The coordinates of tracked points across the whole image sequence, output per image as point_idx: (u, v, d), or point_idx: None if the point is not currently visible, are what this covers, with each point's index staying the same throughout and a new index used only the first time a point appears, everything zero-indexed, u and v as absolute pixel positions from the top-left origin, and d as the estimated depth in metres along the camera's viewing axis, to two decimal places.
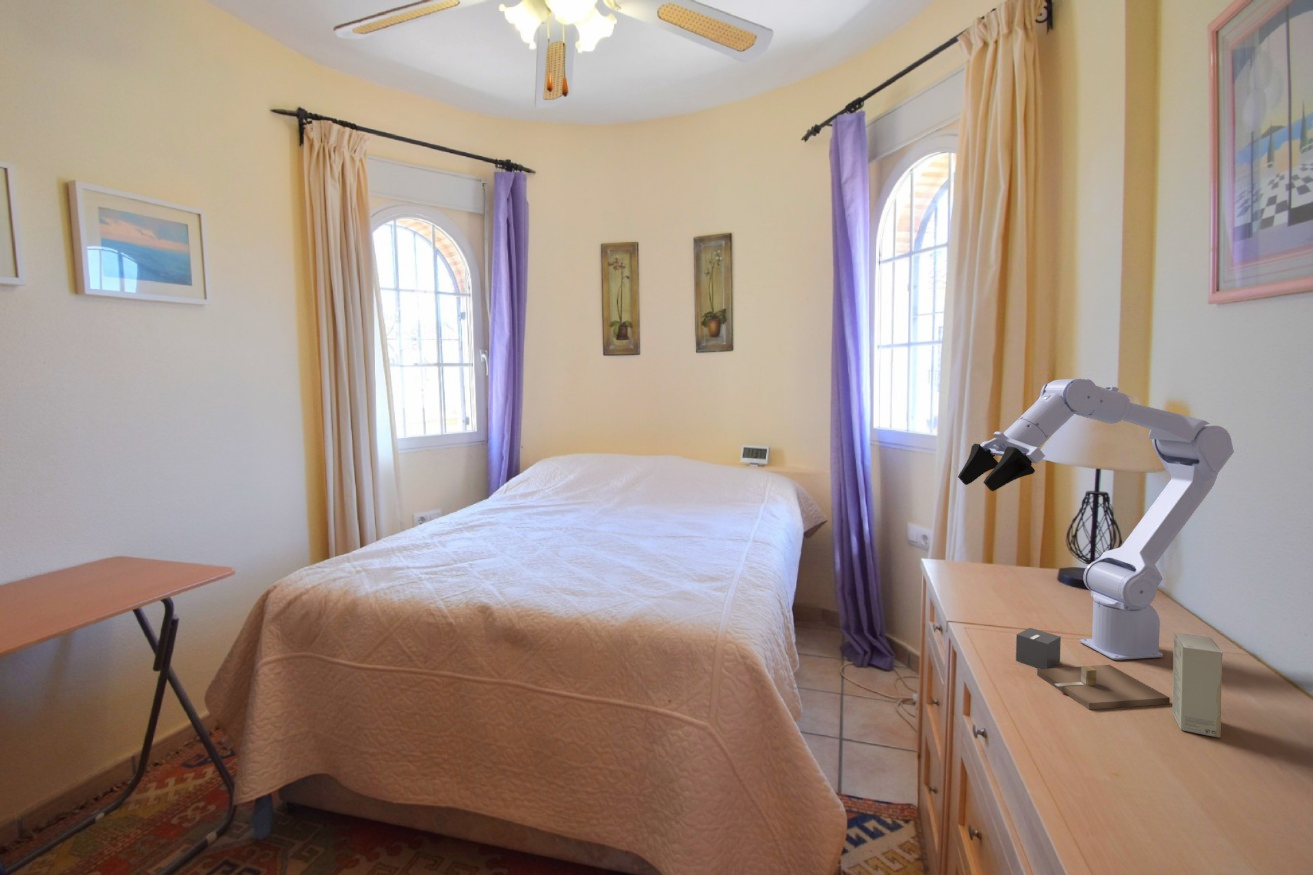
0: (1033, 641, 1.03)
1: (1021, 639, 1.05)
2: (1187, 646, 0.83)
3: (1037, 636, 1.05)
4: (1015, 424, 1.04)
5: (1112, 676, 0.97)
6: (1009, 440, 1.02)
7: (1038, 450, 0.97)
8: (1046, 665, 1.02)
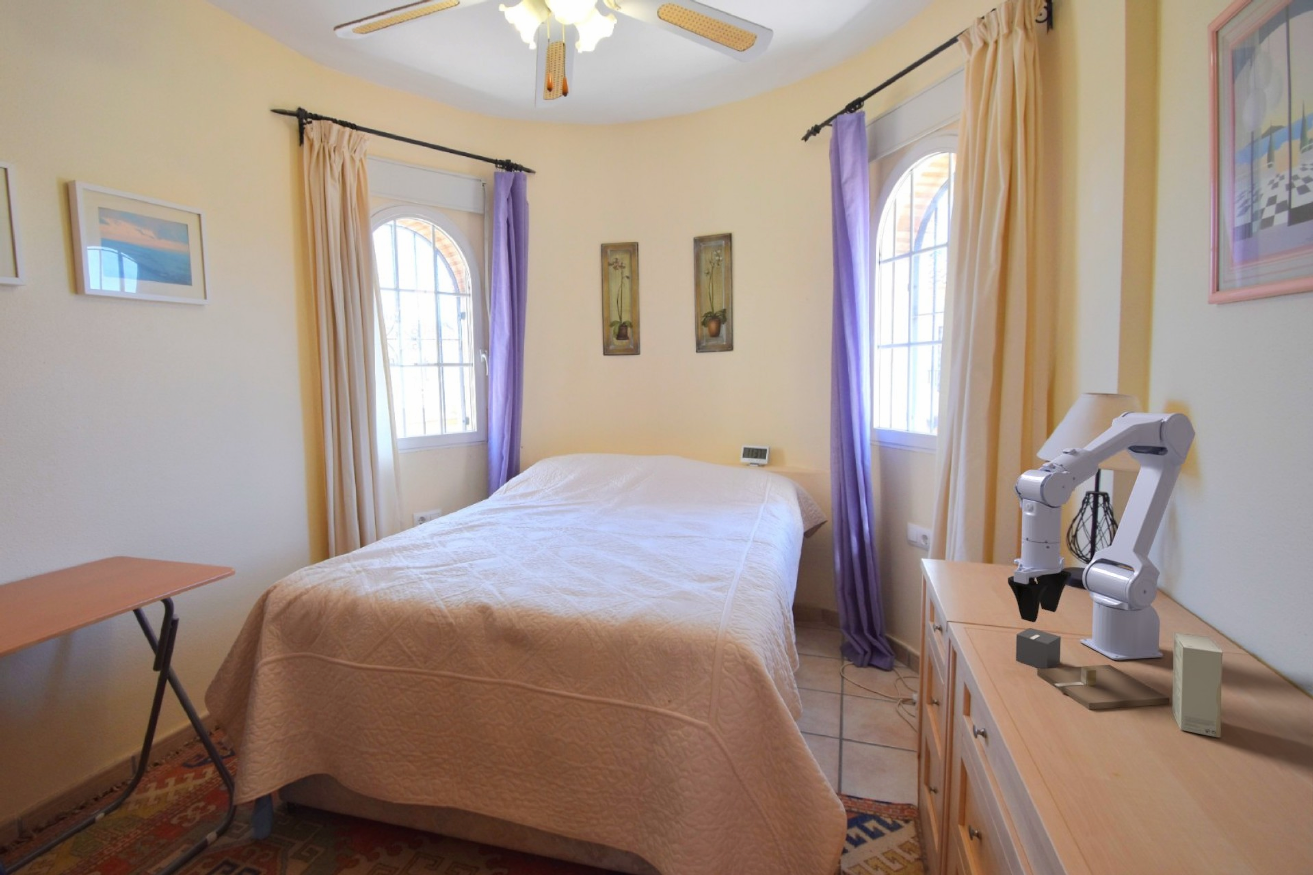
0: (1033, 641, 1.03)
1: (1021, 639, 1.05)
2: (1187, 646, 0.83)
3: (1037, 636, 1.05)
4: None
5: (1112, 676, 0.97)
6: None
7: (1016, 572, 1.00)
8: (1046, 665, 1.02)
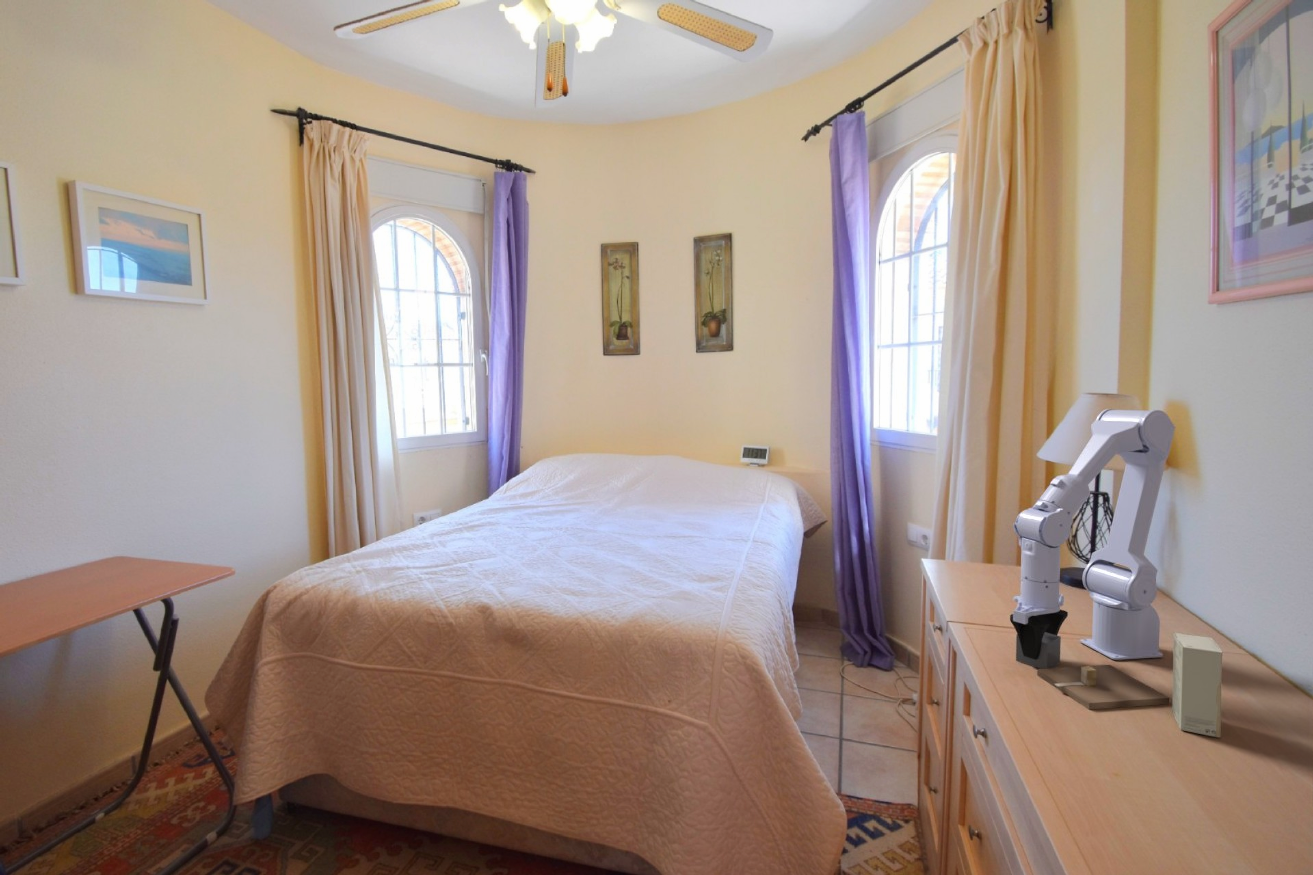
0: None
1: None
2: (1187, 646, 0.83)
3: None
4: None
5: (1112, 676, 0.97)
6: None
7: (1015, 612, 1.01)
8: (1046, 665, 1.02)
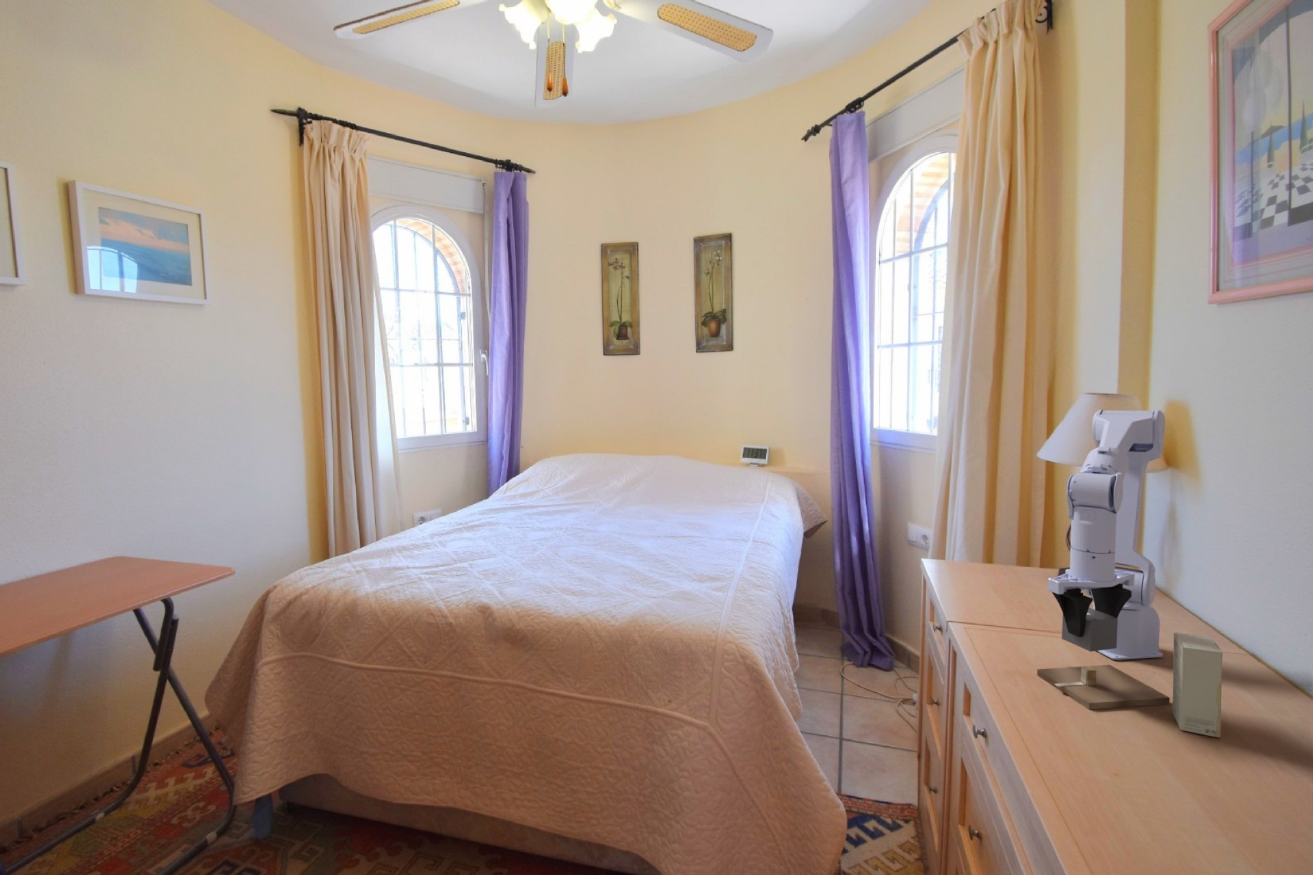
0: None
1: None
2: (1187, 646, 0.83)
3: (1087, 614, 0.95)
4: None
5: (1112, 676, 0.97)
6: None
7: (1050, 581, 0.93)
8: (1089, 645, 0.92)
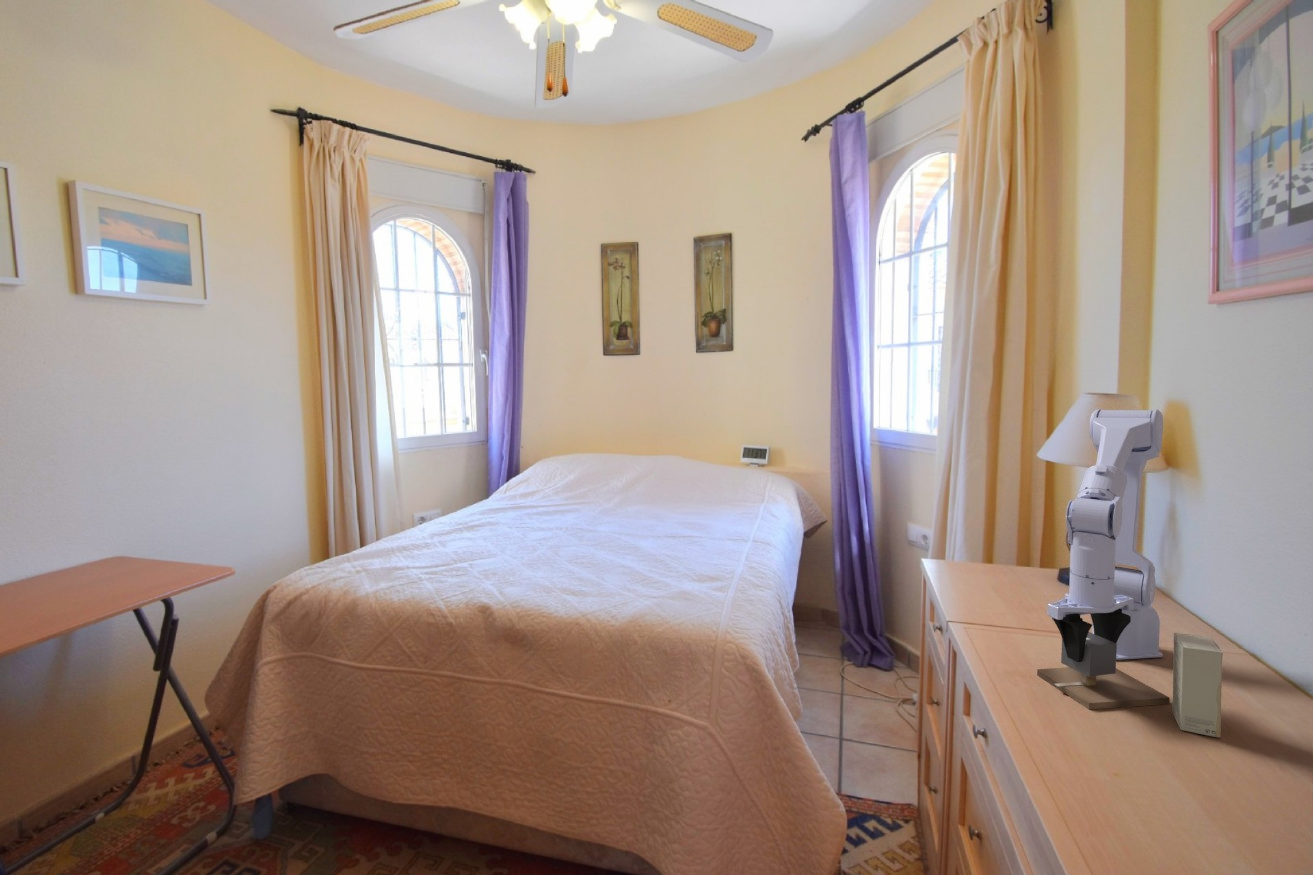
0: None
1: None
2: (1187, 646, 0.83)
3: (1086, 639, 0.95)
4: None
5: (1112, 676, 0.97)
6: None
7: (1049, 606, 0.93)
8: (1089, 670, 0.92)
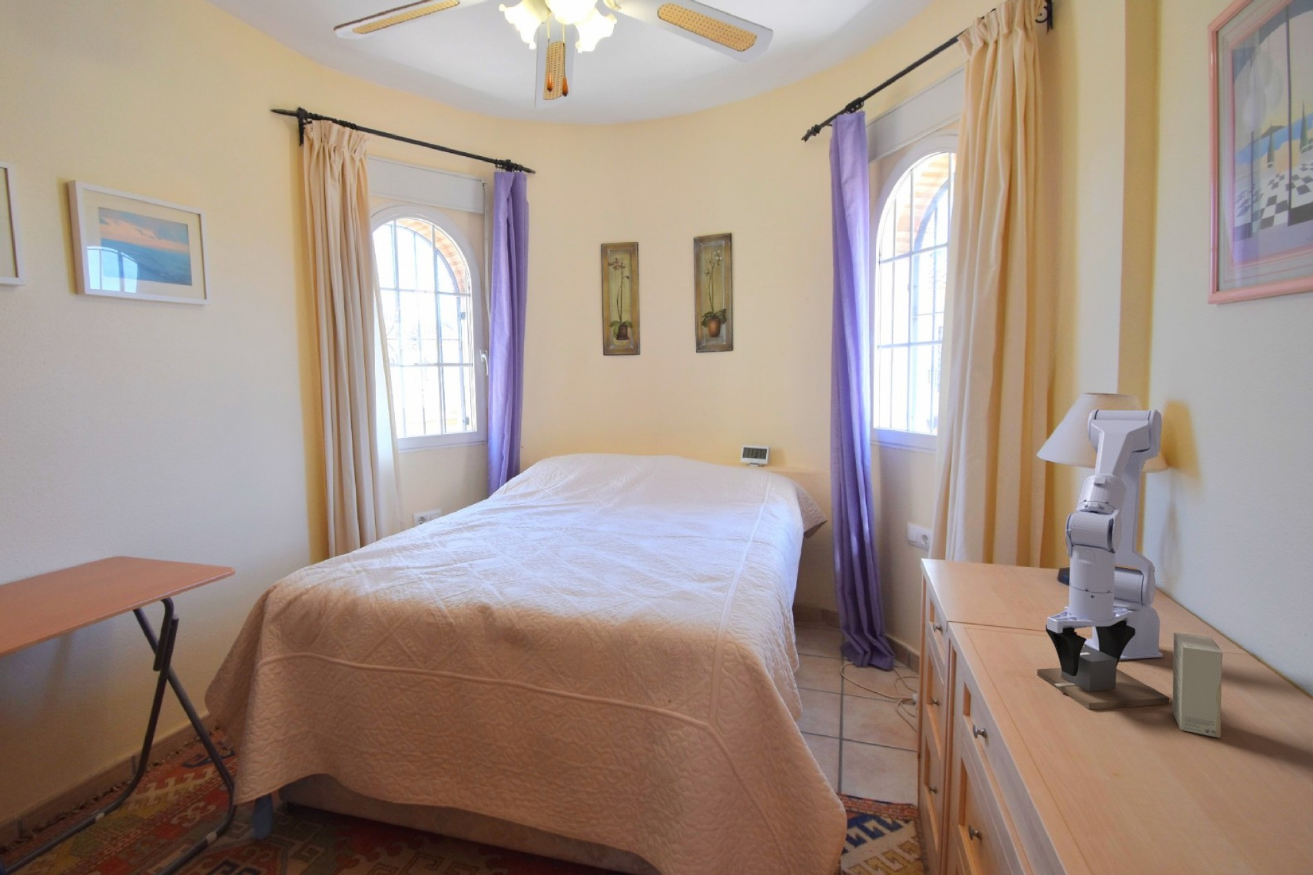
0: None
1: None
2: (1187, 646, 0.83)
3: (1086, 654, 0.95)
4: None
5: None
6: None
7: (1049, 619, 0.94)
8: (1089, 685, 0.93)
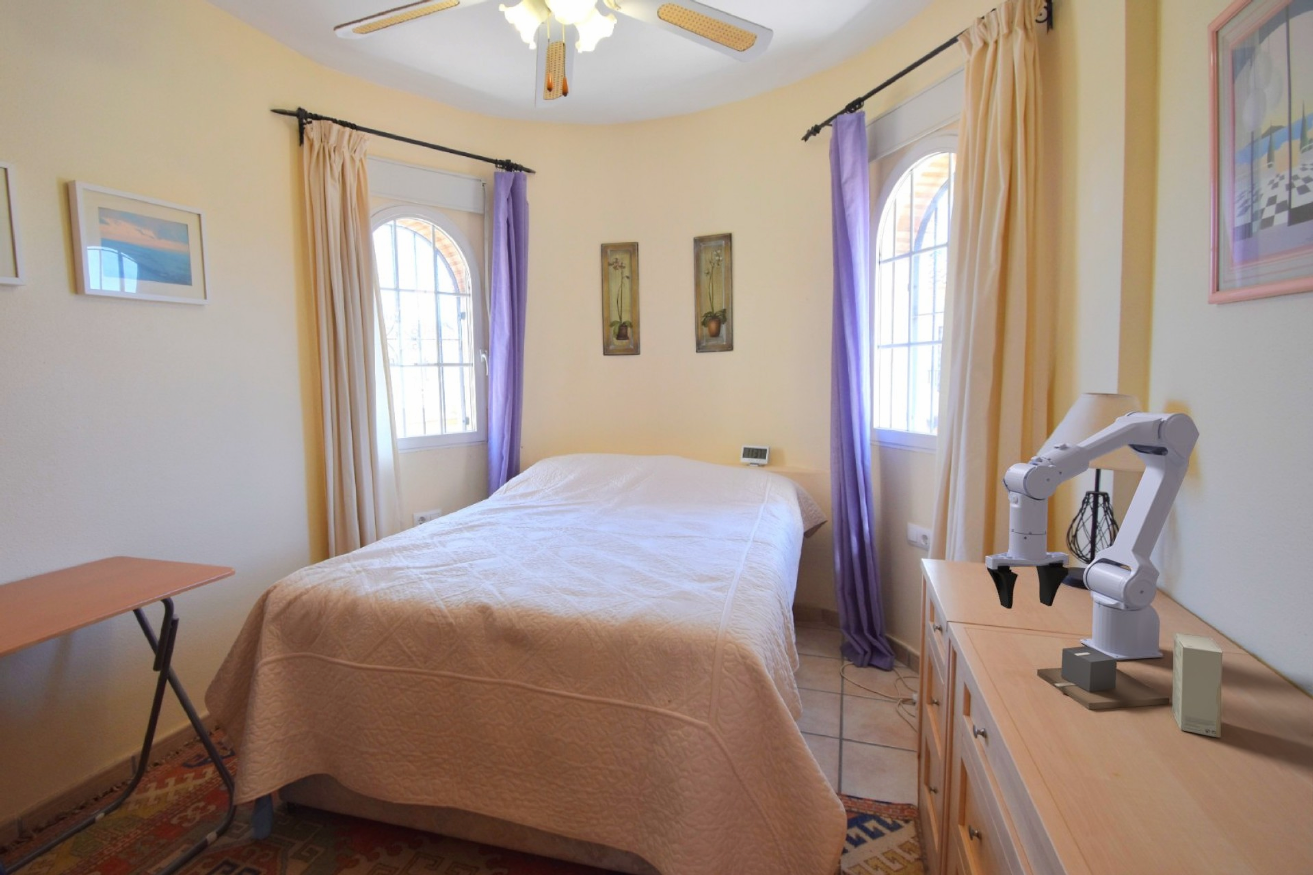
0: (1077, 657, 0.95)
1: (1066, 654, 0.96)
2: (1187, 646, 0.83)
3: (1086, 654, 0.95)
4: None
5: None
6: None
7: (986, 558, 1.06)
8: (1089, 685, 0.93)
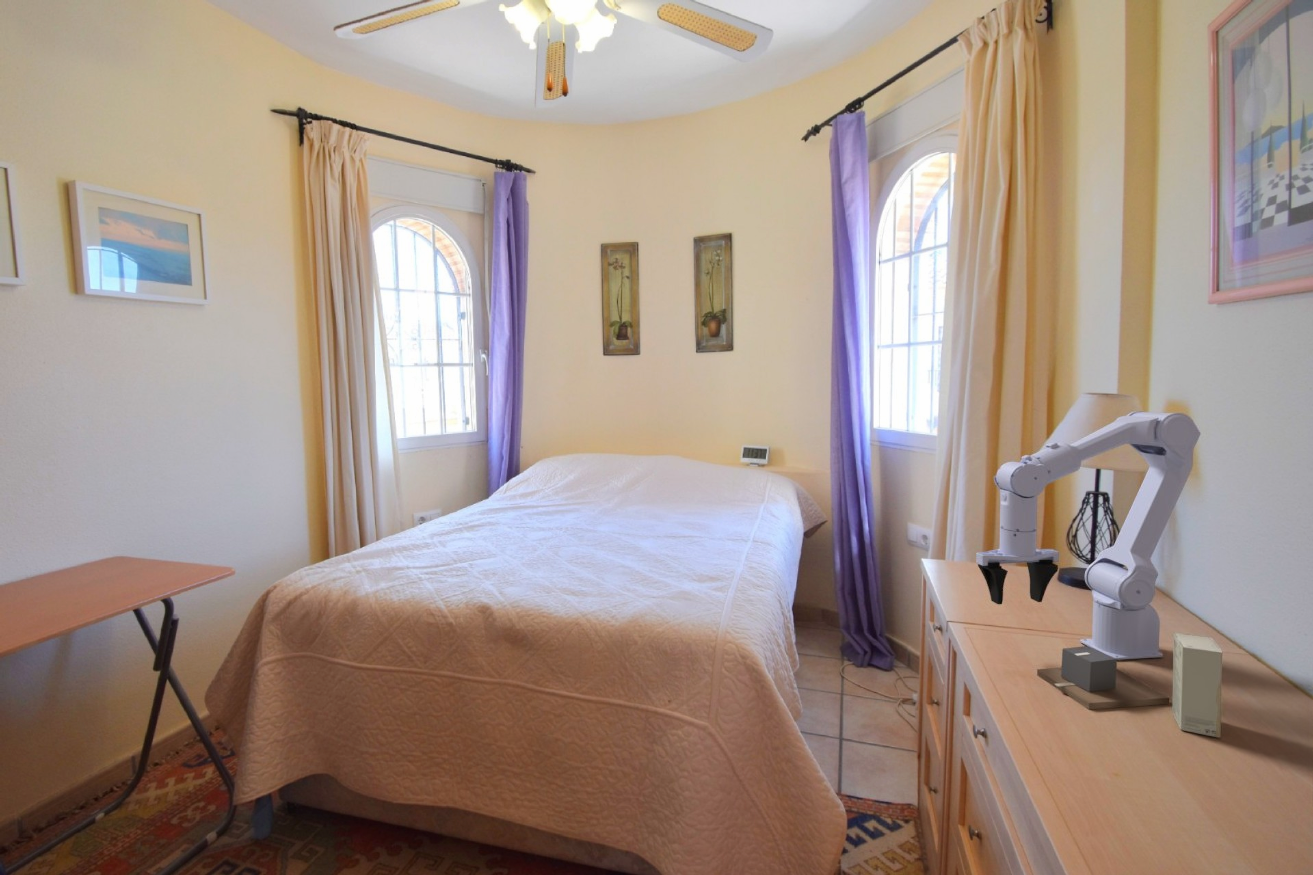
0: (1077, 657, 0.95)
1: (1066, 654, 0.96)
2: (1187, 646, 0.83)
3: (1086, 654, 0.95)
4: None
5: None
6: None
7: (977, 554, 1.08)
8: (1089, 685, 0.93)
